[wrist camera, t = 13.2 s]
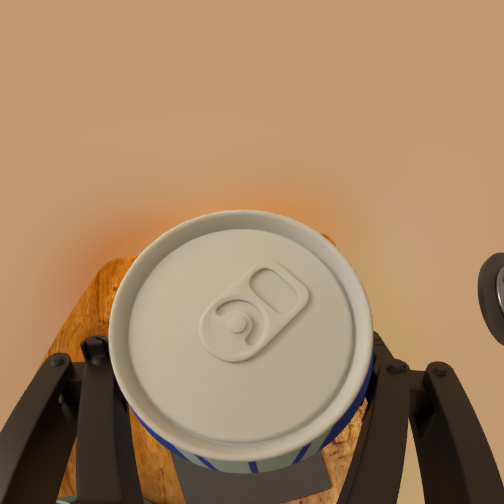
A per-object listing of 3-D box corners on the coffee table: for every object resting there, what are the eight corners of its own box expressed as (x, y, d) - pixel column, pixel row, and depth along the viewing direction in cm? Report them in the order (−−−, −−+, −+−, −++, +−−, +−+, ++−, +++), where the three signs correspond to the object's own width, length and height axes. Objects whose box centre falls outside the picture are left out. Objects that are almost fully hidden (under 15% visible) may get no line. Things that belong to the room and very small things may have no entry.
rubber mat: (330, 487, 27) (331, 488, 27) (191, 514, 25) (190, 515, 25) (294, 365, 37) (295, 365, 37) (158, 394, 35) (157, 394, 35)
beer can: (312, 423, 18) (427, 454, 4) (201, 432, 18) (82, 478, 4) (299, 322, 22) (358, 178, 9) (196, 331, 22) (103, 202, 8)
